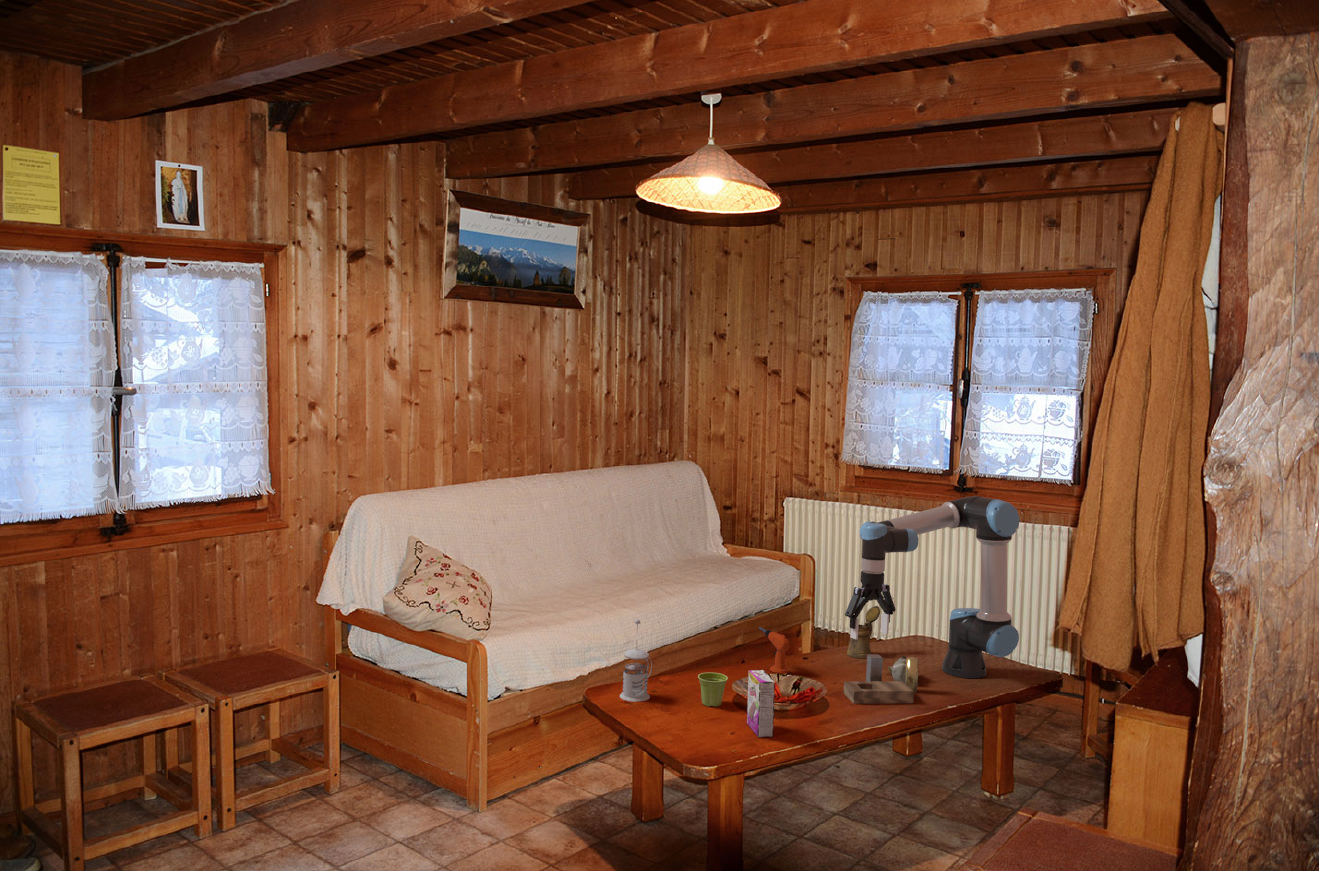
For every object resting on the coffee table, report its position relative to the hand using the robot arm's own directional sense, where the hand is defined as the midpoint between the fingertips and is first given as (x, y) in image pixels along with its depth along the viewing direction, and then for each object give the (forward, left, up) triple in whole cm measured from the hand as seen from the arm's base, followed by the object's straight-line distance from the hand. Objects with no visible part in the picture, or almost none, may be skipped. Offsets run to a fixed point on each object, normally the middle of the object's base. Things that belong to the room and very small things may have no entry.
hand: (869, 635), depth 313 cm
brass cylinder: (-18, -7, -21) cm, 28 cm away
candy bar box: (+42, +27, -21) cm, 54 cm away
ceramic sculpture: (-20, -19, -21) cm, 35 cm away
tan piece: (-16, -49, -21) cm, 56 cm away
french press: (+75, -4, -21) cm, 78 cm away
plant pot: (+52, +4, -21) cm, 56 cm away
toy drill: (+24, -31, -21) cm, 44 cm away
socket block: (-4, 0, -21) cm, 21 cm away
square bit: (-6, -10, -21) cm, 24 cm away
